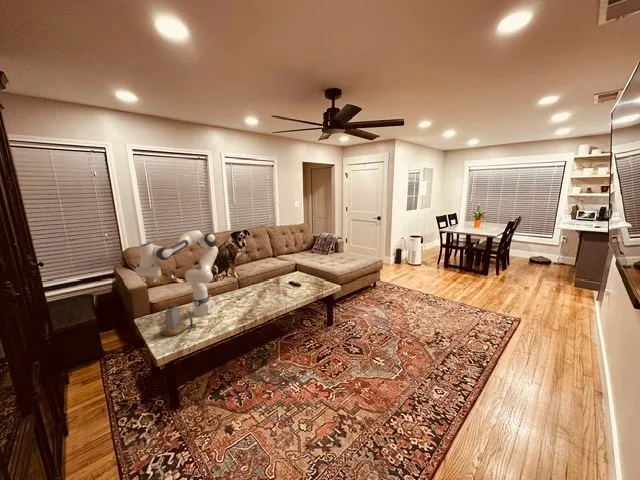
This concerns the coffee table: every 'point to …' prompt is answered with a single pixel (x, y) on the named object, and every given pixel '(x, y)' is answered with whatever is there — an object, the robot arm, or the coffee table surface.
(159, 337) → the coffee table surface
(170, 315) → the perfume bottle
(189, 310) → the dial indicator
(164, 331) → the turntable
